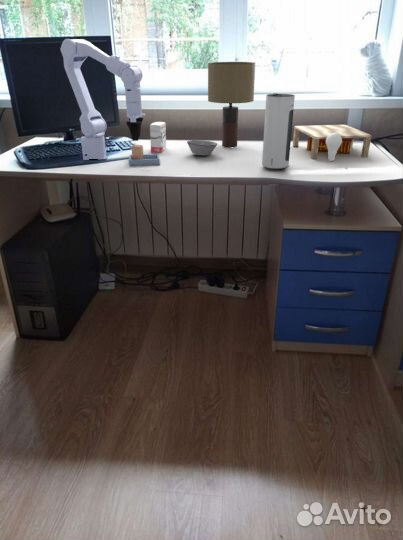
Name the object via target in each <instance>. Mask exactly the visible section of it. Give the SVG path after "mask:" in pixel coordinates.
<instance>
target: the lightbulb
mask: <svg viewBox="0 0 403 540" xmlns="http://www.w3.org/2000/svg"><path fill="white" fill-rule="evenodd" d="M341 143H342V138H341V136H340V135H339V134H337V133H332V134H330V135H329V136H328V137H327V138H326V145H327V148H328V152H327V154H328V155H327V157H328V161H329V162H333V161H335V158H336V155H337V153H338V152H337V150H338V148H339V147H340V145H341Z"/></svg>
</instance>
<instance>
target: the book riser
mask: <svg viewBox="0 0 403 540" xmlns="http://www.w3.org/2000/svg"><path fill="white" fill-rule="evenodd" d="M293 128H294V129H293V139H292V146H293V147H294V146H298V147H299V141H300V132H301V133H302V134H305V135H307V136H308V137H309V138H310V137H312V138H313V141H312V150H310V151H311V152H310V158H311V160H317V159H318V154H319V151H318V146H319V139H326V138H327V137H328V136H329V135H330V134H332V133H337V134H339V135H340V136H341V138H355V139H356V138H359V139H360V138H363V144H362V147H361V154H360V156H361V157H362V158H368V157H369V151H370V147H371V142H372V141H371V140H372V134H370V133H367V132H365V131H362V130H360V129H357V128H354V127H353V126H350V125H347V124H321V125H320V124H319V125H314V124H313V125H294V127H293Z"/></svg>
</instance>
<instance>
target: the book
mask: <svg viewBox="0 0 403 540" xmlns="http://www.w3.org/2000/svg"><path fill="white" fill-rule="evenodd" d="M354 140H355V139H354V138H342V143H341V145H340V147H339V148H338V150H337V153H339V152H344V153H343V154H350V153H351V151H352V150H351V149H353V147H354V142H355V141H354ZM312 141H313V138H312V137H310V136H309V138H308V139H307V145H306V150H307V151H311V150H312ZM318 150H319V151H318V152H327V151H328V148H327V145H326V139H319V146H318Z"/></svg>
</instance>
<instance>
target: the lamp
mask: <svg viewBox="0 0 403 540" xmlns="http://www.w3.org/2000/svg"><path fill="white" fill-rule="evenodd" d="M255 74H256V62H254V61H213V62H210V61H209V62H207V101H208V102H209V103H213V104H228V106H227V105H226V106H223V107H222V123H221V124H222V125H221V126H222V129H221V130H222V131H221V132H222V133H221V145H222V146H221V147H223V146H224V147H223V148H227V147H233V148H236V147H238V131H239V128H238V127H239V106H234V105H233V104H247V103H252V102H254V100H255V98H254V97H255V77H256V75H255Z"/></svg>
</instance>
